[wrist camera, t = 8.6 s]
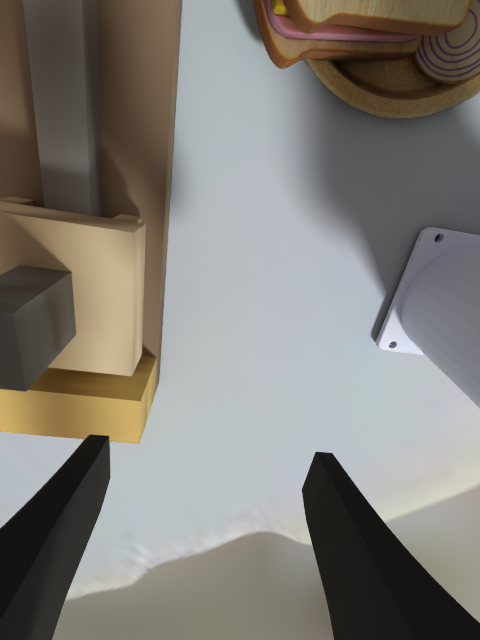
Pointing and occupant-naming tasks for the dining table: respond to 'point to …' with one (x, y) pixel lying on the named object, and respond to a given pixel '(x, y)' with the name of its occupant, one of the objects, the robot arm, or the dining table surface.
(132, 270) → the tan tabbed slider block
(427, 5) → the toy sandwich meal
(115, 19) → the rail
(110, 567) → the dining table surface
